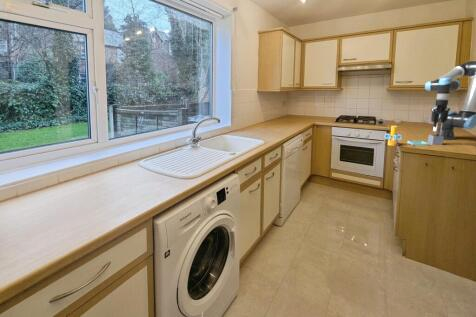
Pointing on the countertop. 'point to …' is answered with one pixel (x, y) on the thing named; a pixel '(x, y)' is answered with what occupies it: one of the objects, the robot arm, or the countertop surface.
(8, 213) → the countertop surface
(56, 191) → the countertop surface
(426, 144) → the tray
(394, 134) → the yellow and blue toy
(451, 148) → the countertop surface
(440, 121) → the dowel
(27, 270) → the countertop surface
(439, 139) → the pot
